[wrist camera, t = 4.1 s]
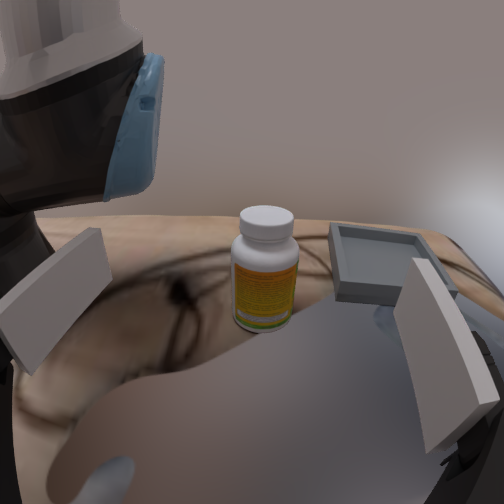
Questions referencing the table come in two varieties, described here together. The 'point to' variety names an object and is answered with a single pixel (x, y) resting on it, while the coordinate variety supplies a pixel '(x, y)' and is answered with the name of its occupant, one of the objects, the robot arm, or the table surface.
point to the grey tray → (376, 263)
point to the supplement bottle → (264, 269)
